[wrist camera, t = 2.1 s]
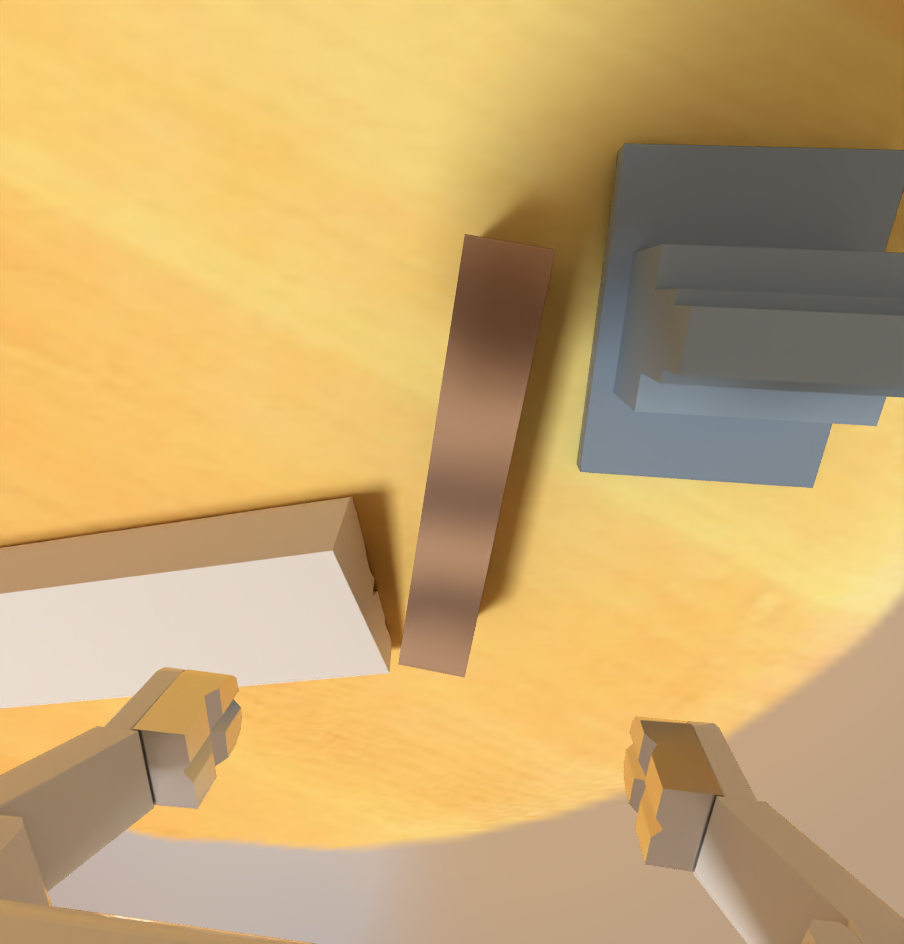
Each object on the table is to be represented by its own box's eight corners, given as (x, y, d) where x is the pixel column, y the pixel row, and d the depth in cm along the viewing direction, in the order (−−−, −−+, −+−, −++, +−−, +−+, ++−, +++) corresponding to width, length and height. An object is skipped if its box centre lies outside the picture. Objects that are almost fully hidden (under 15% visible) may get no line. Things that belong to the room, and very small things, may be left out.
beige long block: (399, 608, 34) (352, 490, 28) (389, 672, 30) (332, 550, 24) (-31, 655, 39) (-143, 563, 33) (-88, 716, 35) (-226, 623, 29)
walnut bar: (471, 246, 23) (464, 234, 19) (544, 258, 23) (556, 249, 19) (414, 606, 30) (398, 664, 25) (470, 617, 30) (464, 677, 25)
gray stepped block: (618, 151, 21) (699, 53, 13) (892, 158, 21) (1177, 59, 12) (576, 464, 26) (615, 548, 17) (798, 479, 25) (954, 575, 17)
